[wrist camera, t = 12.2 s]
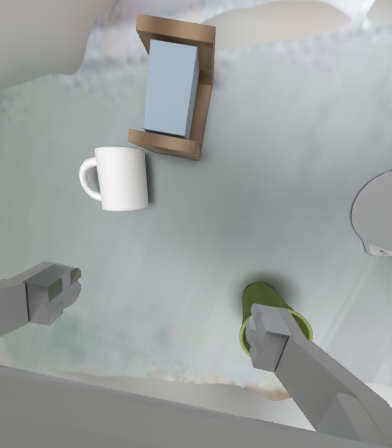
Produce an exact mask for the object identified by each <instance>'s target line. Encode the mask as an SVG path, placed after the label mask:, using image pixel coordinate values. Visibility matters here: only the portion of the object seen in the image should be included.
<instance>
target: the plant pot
mask: <svg viewBox="0 0 392 448" xmlns="http://www.w3.org/2000/svg"><path fill="white" fill-rule="evenodd" d="M253 303H255V304H261V305H266V306H272V307H279V308H285V309H288V310H289V311H290V313H291V314H292V316H293V318H294V319H295V321H296V322H297V324H298V326H299V327H300V329H301V331H302V332H303V334H304V336H305V337H306V339H307V340H311V341H312V340H313V332H312V328H311V326H310V324H309V323H308V321H307V320H306V319H305V318H304V317H303V316H302V315H301V314H299V313H297V312H295V311H294V310H293V309H292V308H290V307H289V306H288V305H287V304H286V303H285V302H284V300H283V299H282V298H281V297H280V296H279V295H278V294H277V292H276V291H275V290H274V289H273V288H272V287H271V286H269V285H268V284H265V283H254V284H251V285H249V287H248V288H246V289H245V291H244V293H243V322H242V327H241V329H240V335H239V339H240V344H241V346H242V348H243V350H244V352H245V353H246V354H247V355H248V356H249V357H251V356H250V352H249V351H250V348H251V346H250V344H249V343H248V342H247V338H246V323H247V320H248V318H249V317H251V316H252V314H251V311H250V310H251V307H252V305H253Z"/></svg>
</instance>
